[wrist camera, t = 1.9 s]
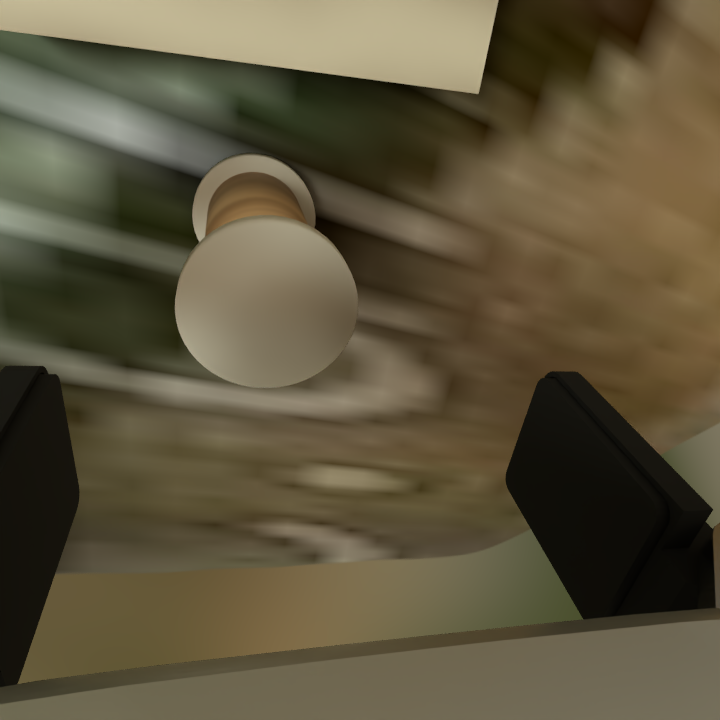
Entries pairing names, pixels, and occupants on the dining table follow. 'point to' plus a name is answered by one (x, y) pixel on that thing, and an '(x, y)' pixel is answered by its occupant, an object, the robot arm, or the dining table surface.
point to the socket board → (286, 33)
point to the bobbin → (262, 278)
